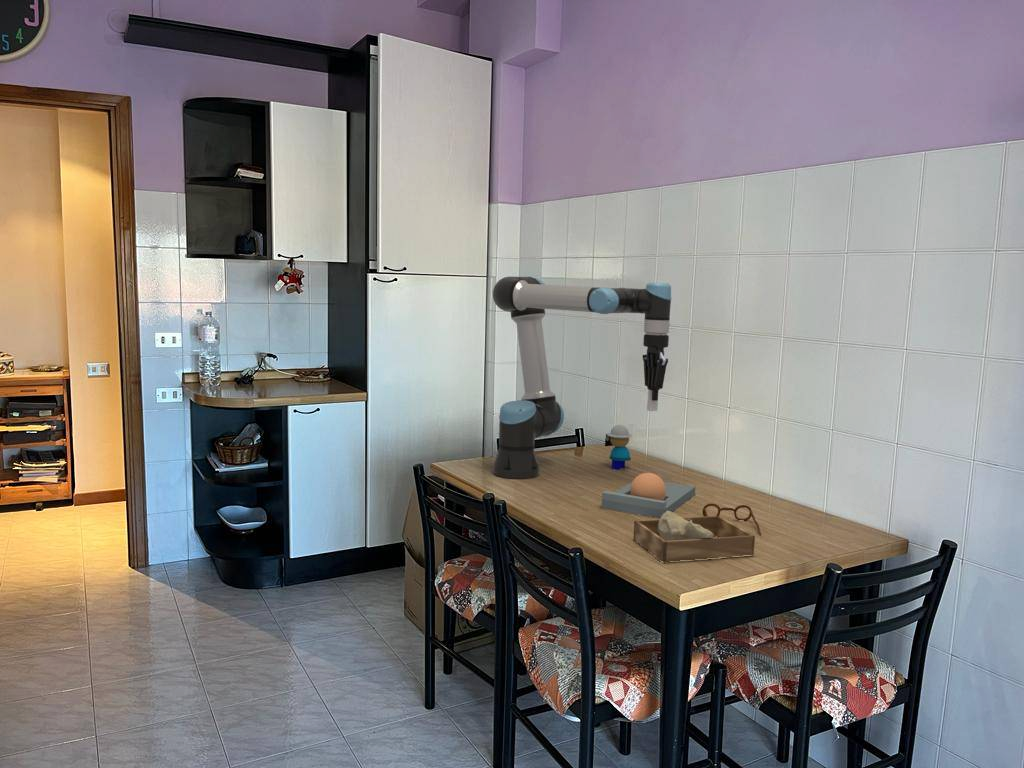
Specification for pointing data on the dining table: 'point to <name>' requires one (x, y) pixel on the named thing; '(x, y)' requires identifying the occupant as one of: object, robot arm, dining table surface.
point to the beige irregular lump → (680, 528)
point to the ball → (648, 486)
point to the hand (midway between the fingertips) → (652, 410)
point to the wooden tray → (696, 540)
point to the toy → (618, 446)
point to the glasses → (734, 513)
